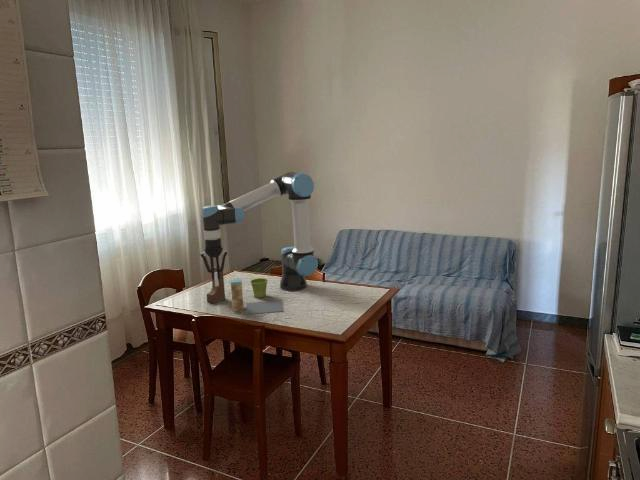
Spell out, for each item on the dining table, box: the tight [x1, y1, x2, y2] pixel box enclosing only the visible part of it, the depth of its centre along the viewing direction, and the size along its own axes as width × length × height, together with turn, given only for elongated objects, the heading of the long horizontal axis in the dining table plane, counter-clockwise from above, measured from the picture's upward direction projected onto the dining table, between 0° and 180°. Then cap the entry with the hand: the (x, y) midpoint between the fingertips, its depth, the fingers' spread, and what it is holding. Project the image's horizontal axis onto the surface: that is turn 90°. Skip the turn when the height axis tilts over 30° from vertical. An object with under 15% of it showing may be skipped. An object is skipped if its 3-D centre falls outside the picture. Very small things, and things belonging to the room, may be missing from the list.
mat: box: [245, 299, 284, 315], centre depth 233 cm, size 18×16×1 cm
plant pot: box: [249, 277, 269, 299], centre depth 250 cm, size 9×9×9 cm
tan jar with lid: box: [230, 278, 245, 313], centre depth 230 cm, size 5×5×15 cm
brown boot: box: [206, 265, 226, 304], centre depth 245 cm, size 9×4×18 cm, turn 145°
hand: (216, 285), depth 228 cm, fingers closed
